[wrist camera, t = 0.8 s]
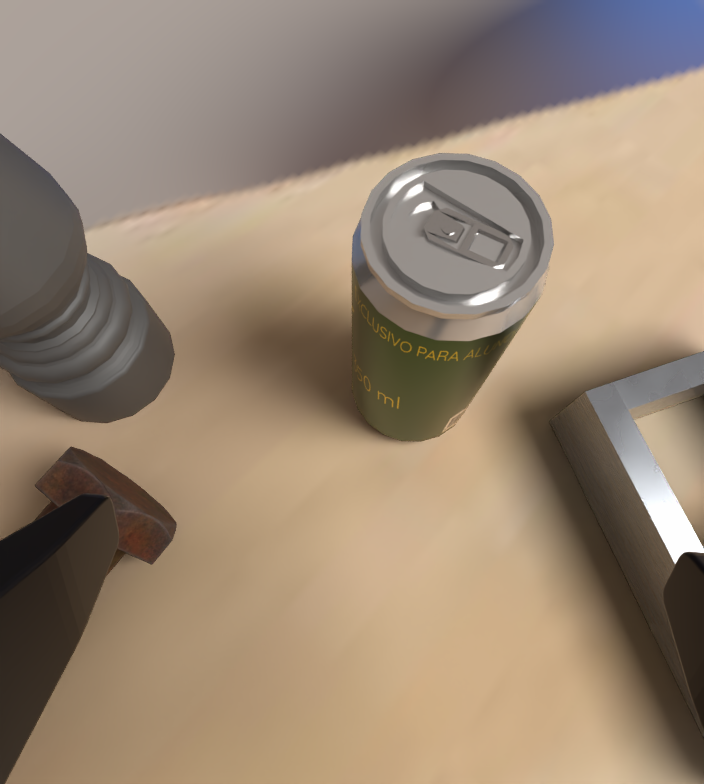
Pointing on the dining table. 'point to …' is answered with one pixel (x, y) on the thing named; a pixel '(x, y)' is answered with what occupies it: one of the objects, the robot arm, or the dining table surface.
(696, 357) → the jig
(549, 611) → the dining table surface
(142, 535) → the bolt
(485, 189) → the beer can
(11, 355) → the turned furniture leg
